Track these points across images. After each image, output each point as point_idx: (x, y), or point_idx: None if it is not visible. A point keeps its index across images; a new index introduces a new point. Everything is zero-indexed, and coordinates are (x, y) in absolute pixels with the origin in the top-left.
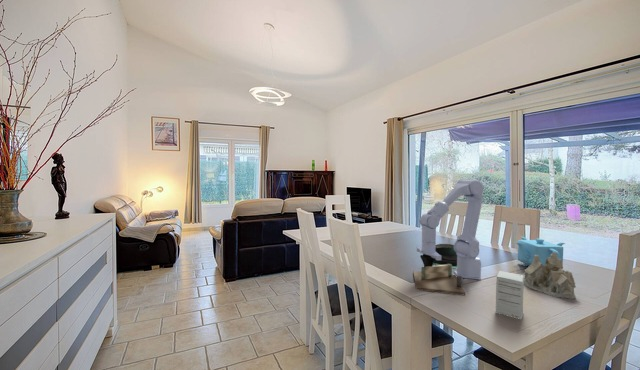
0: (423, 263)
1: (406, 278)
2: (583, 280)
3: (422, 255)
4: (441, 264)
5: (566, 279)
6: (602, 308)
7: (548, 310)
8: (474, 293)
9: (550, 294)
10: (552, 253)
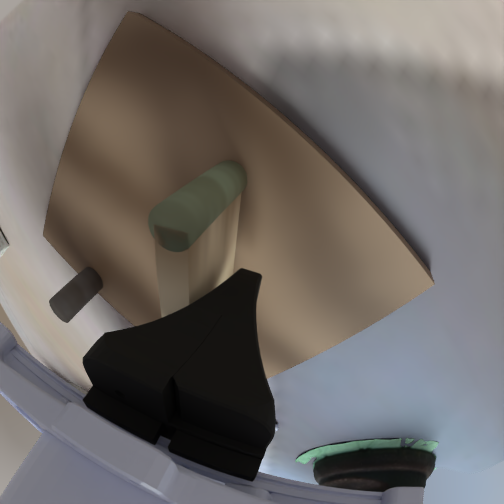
0: (251, 327)
1: (379, 101)
2: None
3: (245, 434)
4: (371, 449)
5: None
6: None
7: (14, 307)
8: (64, 273)
9: (76, 386)
10: None
